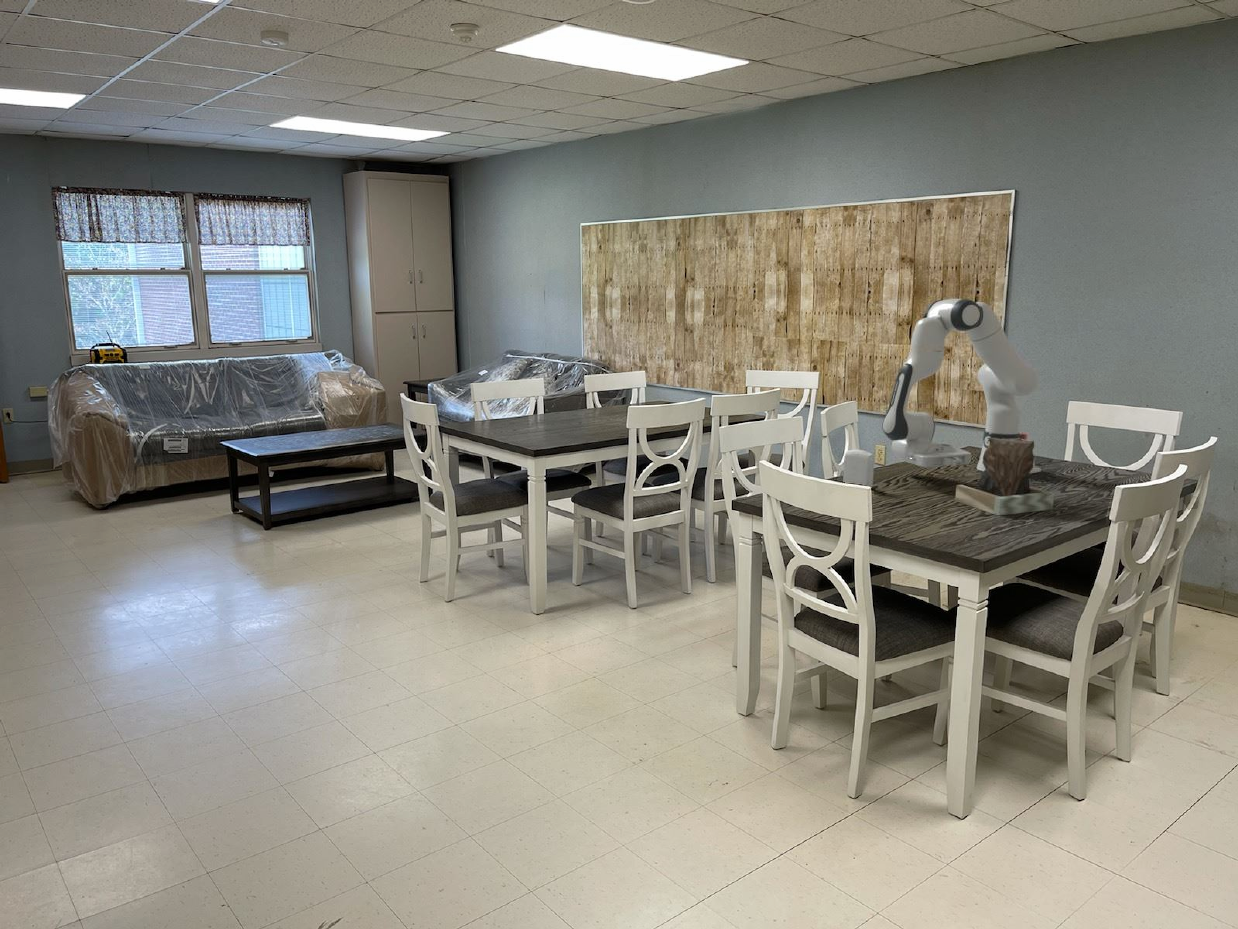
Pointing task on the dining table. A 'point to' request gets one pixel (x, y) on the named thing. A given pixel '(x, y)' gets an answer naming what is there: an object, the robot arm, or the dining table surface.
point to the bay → (1005, 500)
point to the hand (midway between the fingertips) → (959, 463)
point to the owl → (1007, 467)
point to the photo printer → (858, 467)
